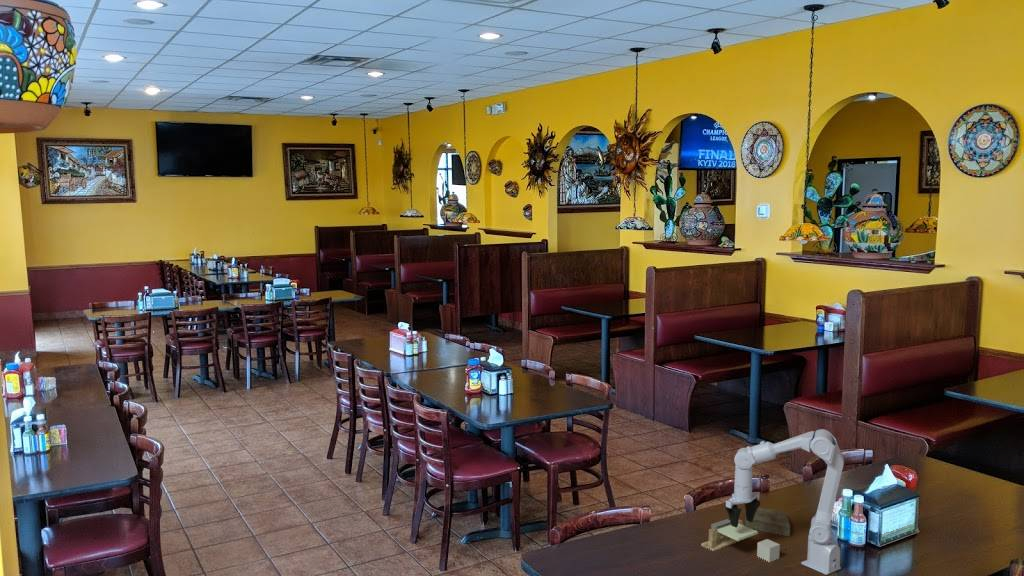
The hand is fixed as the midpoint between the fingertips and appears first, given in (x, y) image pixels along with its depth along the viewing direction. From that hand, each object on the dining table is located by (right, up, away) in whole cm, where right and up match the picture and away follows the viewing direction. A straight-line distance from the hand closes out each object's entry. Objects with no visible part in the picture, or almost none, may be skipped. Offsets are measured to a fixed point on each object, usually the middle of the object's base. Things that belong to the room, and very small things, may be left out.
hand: (741, 523), depth 266 cm
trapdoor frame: (-5, -9, +8) cm, 13 cm away
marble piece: (+16, -8, +23) cm, 29 cm away
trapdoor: (-2, -4, +3) cm, 5 cm away
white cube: (+8, -8, -3) cm, 12 cm away
